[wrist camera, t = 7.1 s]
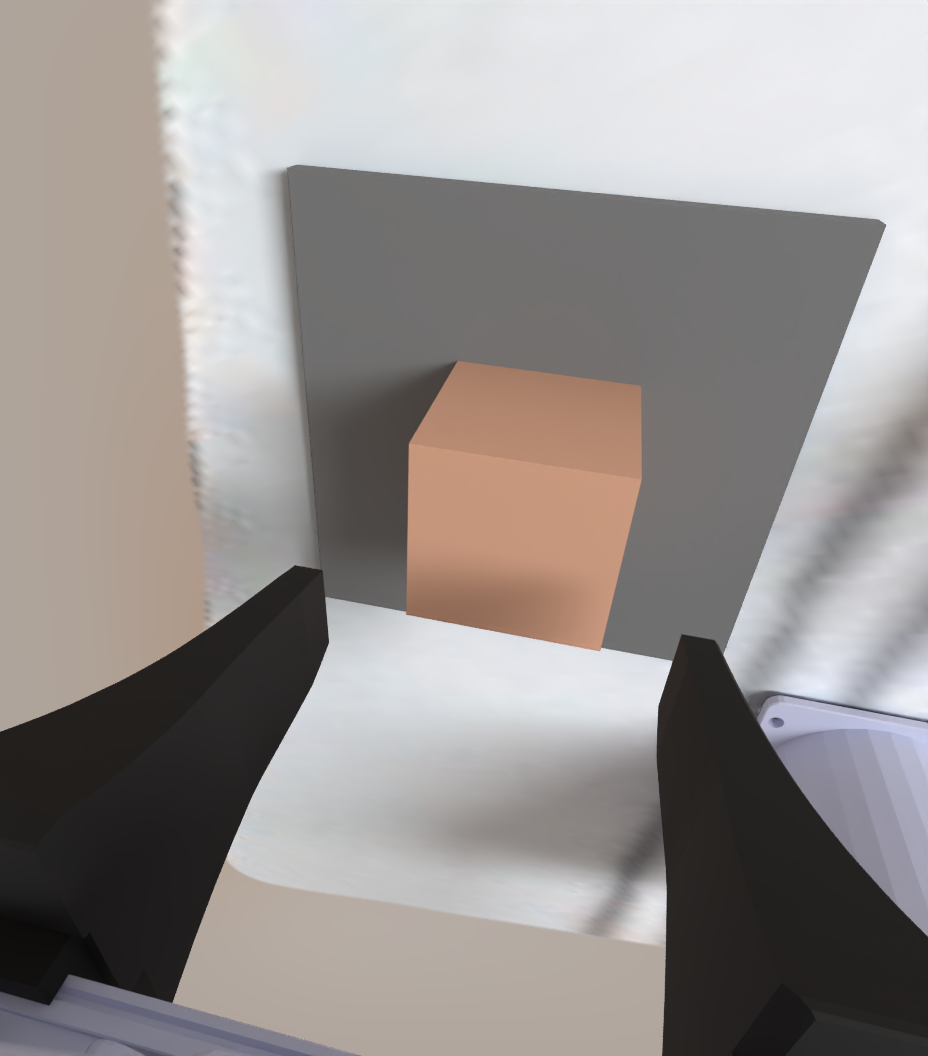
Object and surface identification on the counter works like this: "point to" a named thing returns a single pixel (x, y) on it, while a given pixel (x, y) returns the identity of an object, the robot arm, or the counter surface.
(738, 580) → the mat
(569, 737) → the counter surface
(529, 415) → the cube
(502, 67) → the counter surface
